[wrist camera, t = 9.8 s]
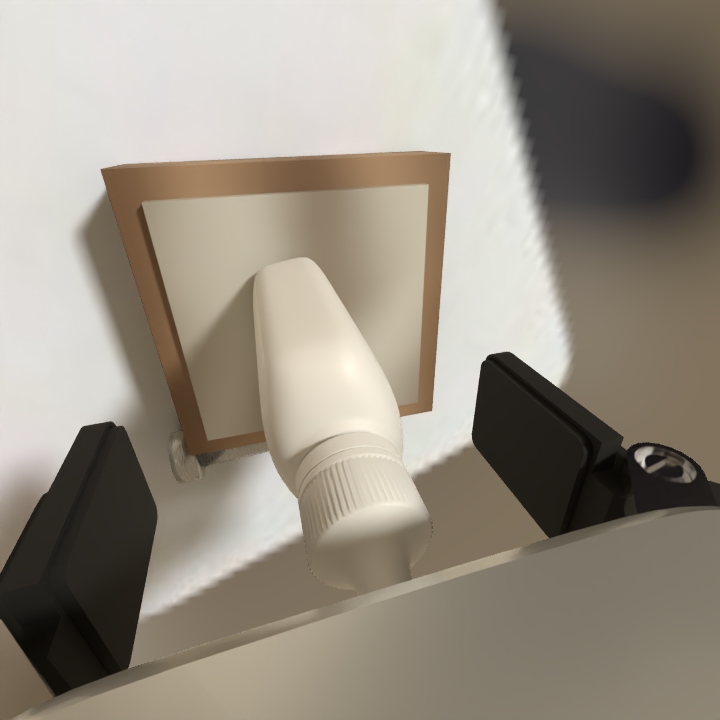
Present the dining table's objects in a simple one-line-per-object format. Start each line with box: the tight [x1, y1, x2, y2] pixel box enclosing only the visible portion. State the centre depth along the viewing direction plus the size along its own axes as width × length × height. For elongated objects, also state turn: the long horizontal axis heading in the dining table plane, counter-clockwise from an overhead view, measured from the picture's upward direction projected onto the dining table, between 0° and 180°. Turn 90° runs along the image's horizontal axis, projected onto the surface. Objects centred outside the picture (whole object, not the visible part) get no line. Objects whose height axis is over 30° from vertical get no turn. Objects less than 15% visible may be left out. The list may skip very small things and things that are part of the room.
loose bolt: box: [169, 431, 269, 484], centre depth 21 cm, size 6×3×3 cm
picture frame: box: [101, 151, 451, 456], centre depth 18 cm, size 12×12×3 cm
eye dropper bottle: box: [253, 257, 433, 596], centre depth 11 cm, size 4×6×12 cm
